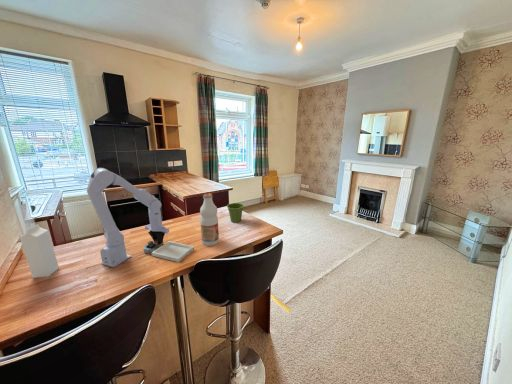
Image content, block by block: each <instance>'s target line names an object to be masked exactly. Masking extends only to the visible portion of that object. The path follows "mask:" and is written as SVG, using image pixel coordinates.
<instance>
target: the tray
mask: <svg viewBox="0 0 512 384" xmlns="http://www.w3.org/2000/svg"><path fill="white" fill-rule="evenodd" d="M194 250H195V246H194V245H189V244H186V243H180V242H175V241H170V240H168V241H167V242H165V243H163V245H161V246H159V248H158V249H156V250H155V251H153V252H152V253H151V256H152V257H155V258H160V259H164V260H167V261H172V262H176V263H180V262H181V261H182V260H184V259H185V258H186V257H187V256H188V255H190V254H191V253H192V252H193V251H194ZM183 258H184V259H183Z"/></svg>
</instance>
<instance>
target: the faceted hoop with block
mask: <svg viewBox="0 0 512 384" xmlns="http://www.w3.org/2000/svg"><path fill="white" fill-rule="evenodd" d="M162 244H163V245H164V242H163V243H161V244H159V243H158V239H156V240H155V241H153V248H149V244H148V243H146V244H145V245H143V253H144V254H147V255H148V254H149V255H150V254H151V255H152V252H153V251H155V250H156V249H158V248H159V247H161V246H162Z"/></svg>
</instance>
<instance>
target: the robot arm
mask: <svg viewBox="0 0 512 384" xmlns="http://www.w3.org/2000/svg"><path fill="white" fill-rule="evenodd" d="M89 176H90V177H89V181H88V185H87V188H86V193H87V195H88V197H89V199H90V202H91V204H92V205H93V208H94V209H95V212H96V214H97V216H98V219H99V221H100V223H101V225H102V228H103V231H104V232H103V236H104V238H105V240H106V243H105V246H104V247H103V248H101V249H100V256H101V257H100V258H101V264H102V265H104V266H108V267H112V268H115V267H116V266H118V265H120V264H121V263H123V262H125V261H126V260H128V259H129V258H131V257H132V255H131V254H129V253H128V254H127V249H126V245H125V236H124V234H123V233H122V232H121V230H120V229H119V228H118V227H117V224H116V222H115V220H114V218H113V215H112V214H111V211H110V208H109V207H108V204H107V201H106V200H105V198H104V195H103V192H104V191H105V189H106V188H107V187H109V186H110V185H113V186H120V187H121V188H123V189H124V190H126V191H128V192H130V193H132V194H133V198H134V199H135V200H137V201H138V202H139V203H141V204H143V205H144V206H145V207H148V208H147V210H148V217H149V218H148V220H149V224H147V225H145V226H144V229H145V230H146V231H147V230H149V231H148V232H147V233H148V235H149V236H150V237H151V238H152V241H153V242H154V241H155V240H156V239H158V243H159V244H161V243H163V244H164V237H165V235H166V234H169V233H170V229H169V228H167V227H165V226H164V225H163V220H162V212H161V208H162V205H163V204H162V202H161V201H160V200H159V199H158V198H156V196H155V195H153V194H150V193H149V192H148V190H147V189H146V188H138V187H136V186H134V185H133V184H132V183H130V182H129V181H128V180H127V179H125V178H124V177H122V176H121V175H118V174H116V173H114V172H113V171H110V170H108V169H107V168H104V167H98V168H96V169H95V170H93V171H92V173H91V174H90V175H89Z"/></svg>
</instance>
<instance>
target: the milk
mask: <svg viewBox="0 0 512 384" xmlns="http://www.w3.org/2000/svg"><path fill="white" fill-rule="evenodd" d="M25 233H26V234H24V235H22V236H20V237H19V240H20V243H21V246H22V249H23V252H24V255H25V258H26V260H27V264H28V267H29V270H30V273H31V276H32V278H34V279H35V278H36V279H37V278H49V277H50V276H51V275H53V274H54V273H56V271H57V270H58V269H60V266H59V263H58V259H57V257H56V252H55V248H54V245H53V243H52V239H51V235H50V232H49V230H48V229H46V228H43V227H40V224H38V223H37V224H35V225H33V226H30V227H28V228H27V229H26V230H25Z"/></svg>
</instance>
